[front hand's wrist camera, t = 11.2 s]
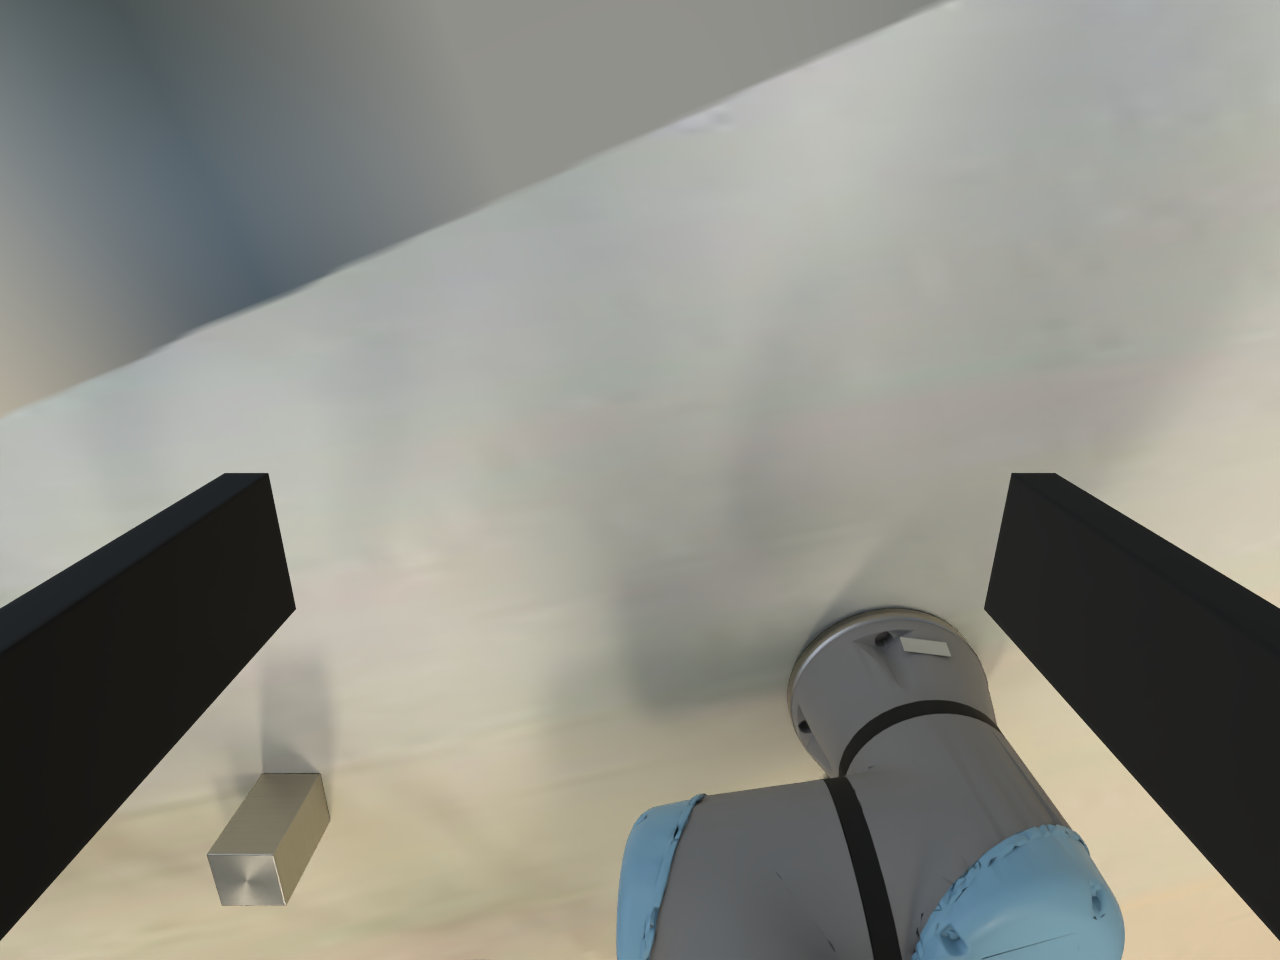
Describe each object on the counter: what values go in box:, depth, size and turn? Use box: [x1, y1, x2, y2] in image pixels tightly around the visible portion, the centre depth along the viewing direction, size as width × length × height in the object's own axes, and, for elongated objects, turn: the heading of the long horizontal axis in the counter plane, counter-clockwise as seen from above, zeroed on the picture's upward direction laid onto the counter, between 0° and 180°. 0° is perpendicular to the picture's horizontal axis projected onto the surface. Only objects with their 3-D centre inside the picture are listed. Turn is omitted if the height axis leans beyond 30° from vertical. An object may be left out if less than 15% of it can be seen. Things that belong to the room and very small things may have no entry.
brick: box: [207, 774, 330, 906], centre depth 56 cm, size 5×5×8 cm
